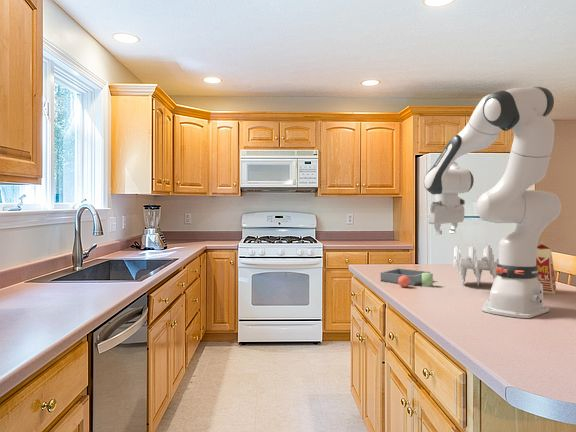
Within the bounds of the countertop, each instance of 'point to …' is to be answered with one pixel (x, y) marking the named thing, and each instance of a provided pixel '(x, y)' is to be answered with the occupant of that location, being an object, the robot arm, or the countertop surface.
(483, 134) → the robot arm
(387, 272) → the bin
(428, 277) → the cucumber chunk
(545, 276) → the milk carton
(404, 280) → the tomato ball
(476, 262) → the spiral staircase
